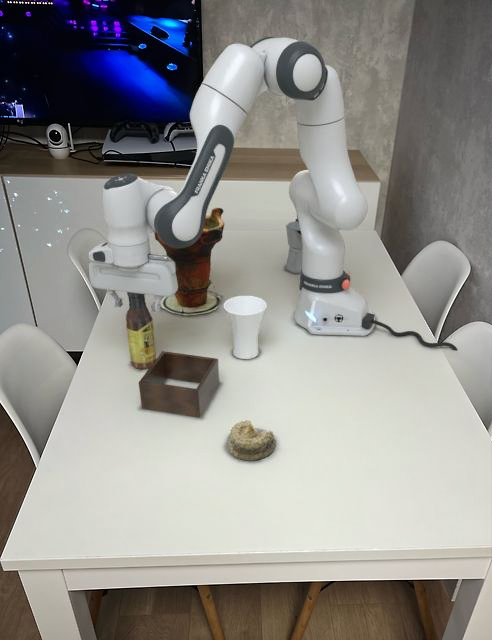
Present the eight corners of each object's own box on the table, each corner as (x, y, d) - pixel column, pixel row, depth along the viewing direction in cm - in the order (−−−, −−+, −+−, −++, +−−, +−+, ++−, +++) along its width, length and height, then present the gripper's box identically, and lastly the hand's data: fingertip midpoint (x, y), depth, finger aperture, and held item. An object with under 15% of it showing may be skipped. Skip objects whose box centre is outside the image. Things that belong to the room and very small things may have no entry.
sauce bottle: (151, 371, 147) (142, 296, 136) (127, 368, 148) (116, 294, 137) (161, 357, 153) (153, 284, 142) (137, 355, 154) (127, 282, 143)
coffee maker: (312, 276, 195) (315, 221, 185) (285, 276, 195) (286, 221, 185) (310, 258, 207) (313, 205, 197) (284, 258, 207) (286, 205, 197)
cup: (273, 347, 157) (273, 300, 150) (255, 367, 149) (254, 318, 142) (237, 339, 161) (235, 292, 153) (217, 357, 153) (215, 309, 146)
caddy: (219, 384, 143) (218, 358, 139) (200, 417, 132) (198, 391, 128) (165, 376, 146) (162, 350, 142) (141, 408, 135) (138, 382, 131)
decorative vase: (235, 288, 187) (233, 196, 171) (217, 323, 168) (212, 224, 152) (170, 282, 190) (162, 192, 174) (144, 316, 171) (133, 218, 155)
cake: (259, 469, 119) (257, 449, 116) (217, 452, 124) (214, 432, 121) (285, 439, 126) (284, 419, 123) (244, 424, 130) (243, 404, 127)
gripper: (179, 251, 135) (184, 307, 143) (94, 242, 139) (103, 297, 147) (169, 262, 130) (174, 319, 138) (81, 252, 134) (91, 309, 142)
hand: (137, 308), depth 142 cm, fingers open, 8 cm apart
